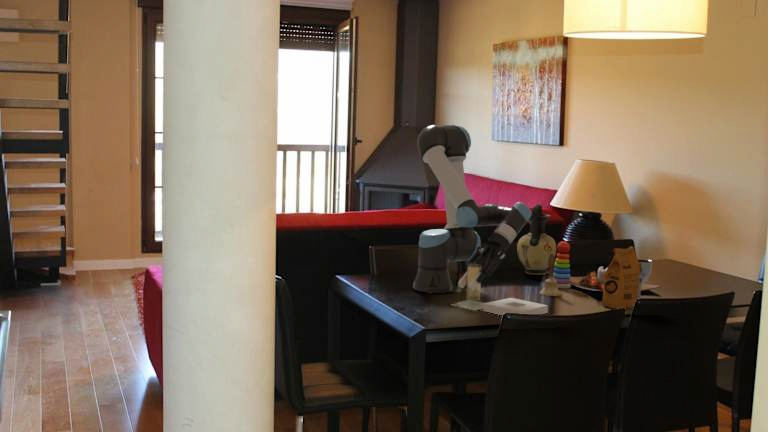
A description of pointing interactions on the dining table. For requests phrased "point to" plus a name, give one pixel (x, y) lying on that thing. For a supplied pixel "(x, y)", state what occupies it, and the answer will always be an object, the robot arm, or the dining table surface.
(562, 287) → the stacking toy
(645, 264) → the wine glass
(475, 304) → the mat
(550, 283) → the hand bell
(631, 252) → the coffee package
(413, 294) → the dining table surface
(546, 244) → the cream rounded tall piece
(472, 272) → the beige cylinder
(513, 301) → the housing
